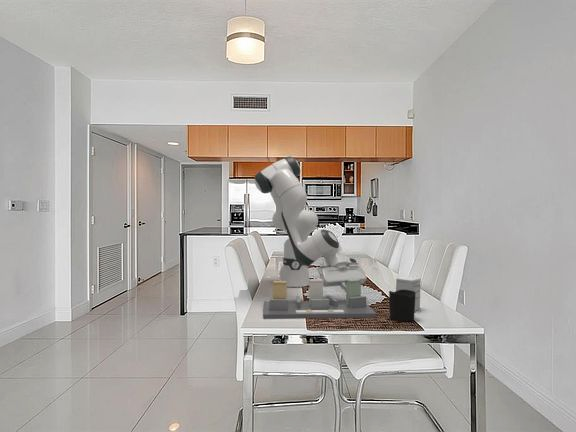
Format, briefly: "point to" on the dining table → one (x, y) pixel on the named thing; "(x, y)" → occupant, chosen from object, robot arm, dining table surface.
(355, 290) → the key sage
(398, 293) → the pen holder
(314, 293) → the key cream
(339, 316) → the keypad console
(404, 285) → the supplement box
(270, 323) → the dining table surface
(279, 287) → the key ochre
